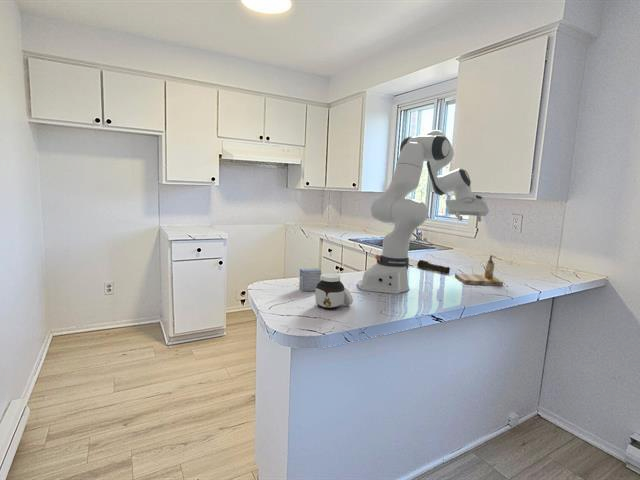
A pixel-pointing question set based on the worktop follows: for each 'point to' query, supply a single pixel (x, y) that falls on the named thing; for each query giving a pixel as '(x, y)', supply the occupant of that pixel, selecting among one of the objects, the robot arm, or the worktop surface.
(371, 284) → the robot arm
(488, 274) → the brown bottle
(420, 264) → the hand tool
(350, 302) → the spread jar
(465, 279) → the board
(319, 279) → the medicine box
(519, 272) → the worktop surface
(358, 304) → the worktop surface
